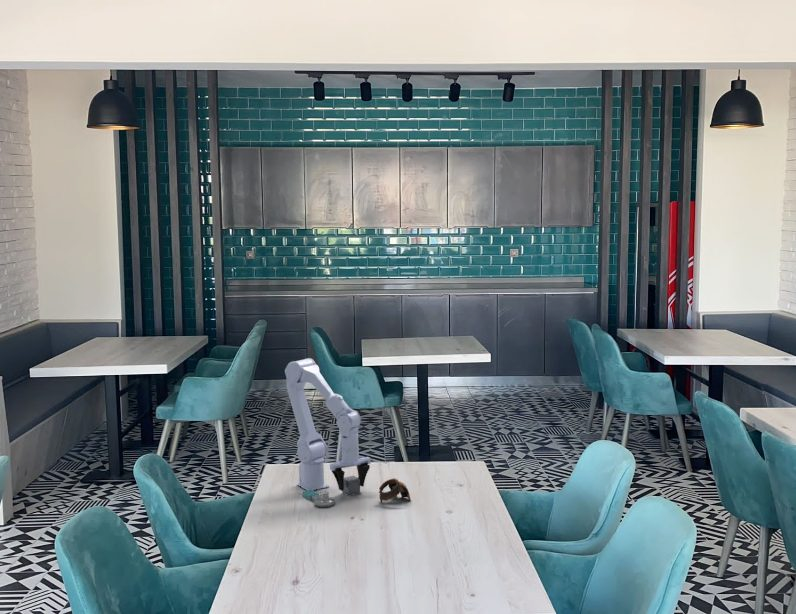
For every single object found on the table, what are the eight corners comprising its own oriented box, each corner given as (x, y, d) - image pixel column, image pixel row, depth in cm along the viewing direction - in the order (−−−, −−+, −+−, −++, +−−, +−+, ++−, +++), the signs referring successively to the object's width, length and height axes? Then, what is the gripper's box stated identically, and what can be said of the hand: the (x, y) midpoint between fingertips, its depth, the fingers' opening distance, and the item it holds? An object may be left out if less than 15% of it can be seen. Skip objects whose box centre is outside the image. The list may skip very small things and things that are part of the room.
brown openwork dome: (414, 505, 267) (403, 486, 264) (388, 519, 267) (376, 500, 265) (409, 485, 278) (398, 467, 275) (384, 498, 279) (373, 480, 276)
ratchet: (298, 496, 278) (297, 484, 278) (315, 493, 281) (315, 481, 281) (320, 509, 264) (319, 496, 264) (338, 505, 268) (337, 493, 267)
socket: (342, 492, 281) (341, 477, 281) (353, 490, 284) (353, 475, 283) (348, 495, 278) (348, 480, 277) (360, 493, 280) (359, 478, 280)
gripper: (336, 453, 272) (337, 494, 273) (374, 446, 280) (376, 486, 281) (326, 449, 278) (327, 489, 279) (364, 442, 286) (365, 481, 287)
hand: (351, 487), depth 280 cm, fingers open, 7 cm apart
